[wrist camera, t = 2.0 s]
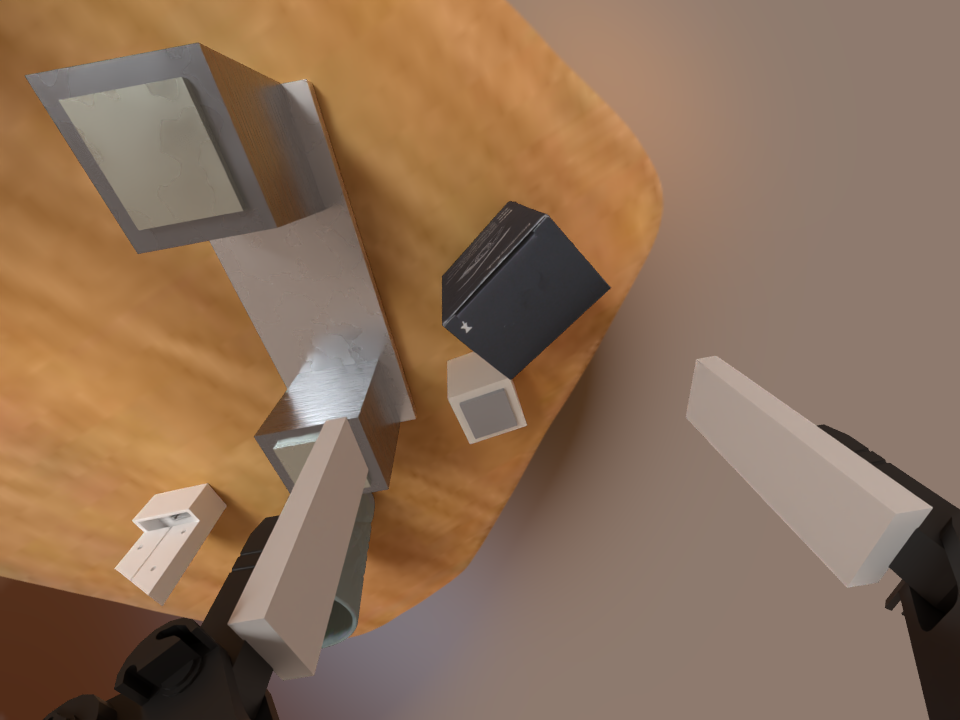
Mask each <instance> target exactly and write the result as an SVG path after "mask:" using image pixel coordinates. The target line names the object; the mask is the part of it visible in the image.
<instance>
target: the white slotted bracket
mask: <svg viewBox="0 0 960 720" xmlns="http://www.w3.org/2000/svg"><path fill="white" fill-rule="evenodd" d="M226 507H227V505H226V504H225V503H224V502H223V501H222V499H221V498H220V497H219V496H218V495H217V494H216V492H215V491H214V490H213V489H212V488H211V487H210V485H209V484H208V483H207V484H202V485H197V486H193V487H188V488H183V489H179V490H174V491H169V492H165V493H160V494H155V495H154V496H153V497H152V498H151V500H150V501H149V502H148V503H147V504H146V505H145V506H144V508H143V509H142V510H141V511H140V512H139V513H138V514H137V515H136V517H135V518H134V519H133V520H132V521H133V522H134V523H135V524H136V525H137V526H138V527H139V528H140V529H141V530H142V531H144V533H143V534H142V536H141V537H140V538H139V539H138V541H137V542H136V543H135V544H134V545H133V547H132V548H131V549H130V550H129V552H128V553H127V554H126V555H125V556H124V558H123V559H122V560H121V561H120V562H119V564H118V565H117V566H116V567H115V569H116V570H117V571H119V572H120V573H121V574H122V575H124V576H125V577H126V578H127V579H129V580H130V581H131V582H132V583H134V584H135V585H136V586H137V587H139V588H140V589H141V590H142V591H144V592H145V593H146V594H147V595H149V596H150V597H151V598H153V599H154V600H155V601H156V602H158V603H159V604H160V605H161V606H163V605H164V603H165V601H166V600H167V598H168V597H169V595H170V594H171V592H172V591H173V589H174V587H175V586H176V584H177V583H178V581H179V580H180V578H181V577H182V575H183V573H184V572H185V570H186V569H187V567H188V566H189V564H190V563H191V561H192V559H193V558H194V556H195V555H196V553H197V552H198V550H199V549H200V547H201V545H202V544H203V542H204V541H205V539H206V538H207V536H208V535H209V533H210V531H211V530H212V528H213V527H214V525H215V524H216V522H217V521H218V519H219V517H220V516H221V514H222V513H223V511H224V510H225V508H226Z"/></svg>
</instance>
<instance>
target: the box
mask: <svg viewBox="0 0 960 720" xmlns="http://www.w3.org/2000/svg"><path fill="white" fill-rule="evenodd" d="M609 289H611V287H610V286H609V285H608V284H607V283H606V282H605V280H604V279H603V278H602V277H601V276H600V275H599V273H598V272H597V271H596V270H595V269H594V268H593V267H592V265H591V264H590V263H589V262H588V261H587V260H586V259H585V257H584V256H583V255H582V254H581V253H580V252H579V251H578V249H577V248H576V247H575V246H574V244H573V243H572V242H571V241H570V240H569V239H568V238H567V236H566V235H565V234H564V233H563V232H562V231H561V229H560V228H559V227H558V226H557V225H556V224H555V222H554V221H553V220H552V219H551V218H550V216H549V215H547V214H544V213H542V212H538V211H536V210H533V209H530V208H528V207H525V206H523V205H521V204H518V203H516V202H512V201H509V202H508V203H507V204H506V205H505V206H504V207H503V208H502V210H501V211H500V212H499V213H498V214H497V215H496V216H495V217H494V218H493V219H492V221H491V222H490V223H489V224H488V225H487V226H486V227H485V229H484V230H483V231H482V232H481V233H480V234H479V235H478V237H477V238H476V239H475V240H474V241H473V242H472V243H471V245H470V246H469V247H468V248H467V249H466V250H465V251H464V252H463V254H462V255H461V256H460V257H459V258H458V259H457V260H456V261H455V263H454V264H453V265H452V266H451V267H450V268H449V269H448V270H447V271H446V273H445V274H444V275H443V276H442V326H444V327H445V328H446V329H447V330H448V331H450V332H451V333H452V334H453V335H454V336H456V337H457V338H458V339H459V340H460V341H462V342H463V343H464V344H465V345H467V346H468V347H469V348H470V349H471V350H473V351H474V352H475V353H476V354H478V355H479V356H480V357H481V358H483V359H484V360H485V361H486V362H488V363H489V364H490V365H491V366H493V367H494V368H495V369H497V370H498V371H499V372H500V373H502V374H503V375H504V376H506V377H507V378H508V379H510V380H512V379H513V378H514V377H515V376H516V375H517V374H518V373H519V372H521V371H522V370H523V369H524V368H525V367H526V366H527V365H528V364H529V363H530V362H531V361H532V360H533V359H534V358H536V357H537V356H538V355H539V354H540V353H541V352H542V351H543V350H544V349H545V348H546V347H548V346H549V345H550V344H551V343H552V342H553V341H554V340H555V339H556V338H557V337H558V336H559V335H561V334H562V333H563V332H564V331H565V330H566V329H567V328H568V327H569V326H570V325H571V324H572V323H573V322H574V321H576V320H577V319H578V318H579V317H580V316H581V315H582V314H583V313H584V312H585V311H586V310H587V309H589V308H590V307H591V306H592V305H593V304H594V303H595V302H596V301H597V300H598V299H599V298H601V297H602V296H603V295H604V294H605V293H606V292H607V291H608V290H609Z"/></svg>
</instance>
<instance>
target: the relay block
mask: <svg viewBox="0 0 960 720" xmlns="http://www.w3.org/2000/svg"><path fill="white" fill-rule="evenodd" d="M447 387H448V400H449V403H450V405H451V407H452V409H453V411H454V413H455V415H456V417H457V419H458V421H459V423H460V425H461V427H462V429H463V431H464V433H465V435H466V437H467V439H468V441H469V443H470V444H473V443H476V442H479V441H482V440H485V439H488V438H491V437H494V436H497V435H500V434H503V433H506V432H509V431H512V430H516V429H519V428H522V427H525V426H527V423H526V420H525V417H524V414H523V410H522V407H521V404H520V401H519V398H518V395H517V392H516V388H515V385H514V383H513V380H510V379H508V378H507V377H506V376H504V375H503V374H502V373H500V372H499V371H498V370H497V369H495V368H494V367H493V366H491V365H490V364H489V363H488V362H486V361H485V360H484V359H483V358H481V357H480V356H479V355H478V354H476V353H475V352H471V353H468V354H465V355H463V356H460V357H457V358H454V359H451V360H448V361H447Z"/></svg>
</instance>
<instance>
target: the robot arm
mask: <svg viewBox="0 0 960 720" xmlns="http://www.w3.org/2000/svg"><path fill="white" fill-rule="evenodd" d="M686 418H687V420H689V422H690V423H691V424H692V425H693V426H694V427H695V428H696V429H697V430H698V431H699V432H700V433H701V434H702V435H703V436H704V437H705V438H706V439H707V441H708V442H709V443H710V444H711V445H712V446H713V447H714V448H715V449H716V450H717V451H718V452H719V453H720V454H721V455H722V456H723V457H724V458H725V460H727V462H728V463H729V464H730V465H731V466H732V467H733V468H734V469H735V470H736V471H737V472H738V473H739V474H740V475H741V476H742V477H743V478H744V479H745V481H746V482H747V483H748V484H749V485H750V486H751V487H752V488H753V489H754V490H755V491H756V492H757V493H758V494H759V495H760V496H761V497H762V498H763V500H764V501H765V502H766V503H767V504H768V505H769V506H770V507H771V508H772V509H773V510H774V511H775V512H776V513H777V514H778V515H779V516H780V517H781V519H782V520H783V521H784V522H785V523H786V524H787V525H788V526H789V527H790V528H791V529H792V530H793V531H794V532H795V533H796V534H797V535H798V536H799V537H800V539H802V541H803V542H804V543H805V544H806V545H807V546H808V547H809V548H810V549H811V550H812V551H813V552H814V553H815V554H816V555H817V556H818V557H819V558H820V560H821V561H822V562H823V563H824V564H825V565H826V566H827V567H828V568H829V569H830V570H831V571H832V572H833V573H834V574H835V575H836V576H837V577H838V579H840V581H841V582H842V583H843V584H844V585H845V586H846V587H853V586H860V585H866V584H872V583H877V582H879V581H880V579H881V578H882V577H883V575H884V574H885V572H886V571H887V570H888V568H891V569H892V570H893V571H894V572H895V573H896V574H897V575H898V576H899V577H901V578H902V580H901V582H900V583H899V584H898V585H897V587H896V588H895V589H894V591H893V592H892V593H891V594H890V596H889V597H888V598H887V600H886V603H885V608H886V609H889V610H893V608H894V607H895V606H896V605H897V604H898V602H899V601H900V600H901V603H902V606H903V612H902V615H904V616H905V619H906V624H907V628H908V632H909V636H910V640H911V645H912V649H913V653H914V657H915V661H916V666H917V670H918V674H919V678H920V682H921V686H922V690H923V695H924V699H925V703H926V707H927V711H928V715H929V720H960V509H958V508H957V507H955V506H954V505H952V504H951V503H949V502H948V501H946V500H945V499H943V498H942V497H940V496H939V495H937V494H936V493H934V492H933V491H931V490H930V489H928V488H927V487H925V486H924V485H922V484H921V483H919V482H918V481H916V480H915V479H913V478H912V477H910V476H909V475H907V474H906V473H904V472H903V471H901V470H900V469H898V468H897V467H895V466H894V465H892V464H891V463H886V461H885V459H883V458H882V457H880V456H879V455H877V454H876V453H874V452H873V451H871V452H870V451H869V450H868V448H867V447H865V446H864V445H862V444H861V443H859V442H858V441H856V440H855V439H853V438H852V437H850V436H849V435H847V434H845V433H842V432H840V431H838V430H835V429H833V428H831V427H829V426H826V425H818V426H816V425H814V424H813V423H811V422H810V421H809V420H807V419H806V418H805V417H803V416H802V415H800V414H799V413H797V412H796V411H794V410H793V409H792V408H790V407H789V406H787V405H786V404H784V403H783V402H782V401H780V400H779V399H777V398H776V397H774V396H773V395H772V394H770V393H769V392H767V391H766V390H765V389H763V388H762V387H760V386H759V385H757V384H756V383H755V382H753V381H751V380H750V379H749V378H747V377H746V376H745V375H743V374H742V373H740V372H739V371H738V370H736V369H735V368H733V367H732V366H730V365H729V364H727V363H726V362H724V361H723V360H722V359H720V358H719V357H718V356H712V357H707V358H700V359H696V363H695V368H694V374H693V379H692V385H691V391H690V396H689V401H688V407H687V413H686ZM367 474H368V468H367V465H366V463H365V460H364V458H363V456H362V453H361V451H360V448H359V446H358V444H357V441H356V439H355V437H354V434H353V432H352V429H351V427H350V425H349V422H348V420H347V417H343V418H337V419H331V420H326V421H325V423H324V425H323V428H322V430H321V432H320V434H319V436H318V438H317V440H316V442H315V444H314V446H313V448H312V450H311V452H310V454H309V456H308V458H307V461H306V463H305V465H304V467H303V469H302V471H301V473H300V475H299V477H298V479H297V481H296V483H295V485H294V487H293V489H292V492H291V494H290V496H289V498H288V500H287V502H286V504H285V506H284V508H283V510H282V512H281V514H280V515H279V516H273V517H267V518H265V519H264V520H263V521H262V522H261V523H260V525H259V526H258V527H257V528H256V529H255V530H254V531H253V532H252V533H251V535H250V536H249V538H248V540H247V542H246V544H245V545H244V547H243V549H242V551H241V553H240V554H241V555H240V557H238V558H237V560H236V562H235V564H234V566H233V568H232V572H231V573H229V575H228V577H227V579H226V581H225V583H224V584H223V586H222V588H221V590H220V592H219V594H218V595H217V597H216V599H215V601H214V603H213V605H212V607H211V608H210V610H209V612H208V614H207V616H206V618H205V620H204V621H203V623H202V625H201V627H200V626H199V625H198V624H197V623H196V622H195V621H194V620H193V619H188V618H181V619H177V620H173V621H170V622H168V623H166V624H165V625H163V626H161V627H160V628H158V629H156V630H155V631H153V632H152V633H151V634H150V635H149V636H148V637H147V638H145V639H144V640H143V641H142V642H141V643H140V644H139V645H138V646H137V647H136V648H135V649H134V651H133V652H132V653H131V654H130V655H129V656H128V658H127V659H126V661H125V663H124V664H123V666H122V668H121V669H120V671H119V673H118V675H117V679H116V683H115V687H114V689H115V690H116V691H118V692H119V693H121V694H119V695H117V696H115V697H114V698H111V699H109V700H107V701H104V700H102V699H100V698H99V697H97V696H95V695H81V696H78V697H76V698H73V699H71V700H69V701H67V702H65V703H64V704H62V705H61V706H60V707H58V708H57V709H55V710H54V711H52V712H51V713H50V714H48V715H47V716H46V717H45V718H44V719H43V720H279V717H278V714H277V711H276V708H275V705H274V702H273V699H272V696H271V694H270V693H269V691H268V690H267V686H268V683H269V680H270V677H271V674H272V671H274V672H275V673H276V674H277V675H278V676H279V677H280V678H281V679H282V680H283V681H284V680H290V679H296V678H302V677H307V676H314V674H315V670H316V666H317V662H318V659H319V655H320V651H321V648H322V644H323V640H324V636H325V632H326V629H327V625H328V621H329V617H330V614H331V610H332V606H333V602H334V598H335V595H336V591H337V587H338V583H339V580H340V576H341V572H342V568H343V564H344V561H345V557H346V553H347V549H348V545H349V542H350V538H351V534H352V530H353V527H354V523H355V519H356V515H357V511H358V508H359V504H360V500H361V496H362V493H363V489H364V485H365V481H366V477H367Z"/></svg>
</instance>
